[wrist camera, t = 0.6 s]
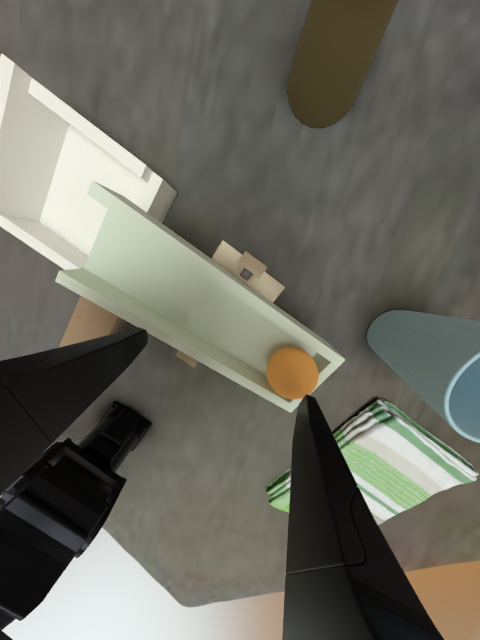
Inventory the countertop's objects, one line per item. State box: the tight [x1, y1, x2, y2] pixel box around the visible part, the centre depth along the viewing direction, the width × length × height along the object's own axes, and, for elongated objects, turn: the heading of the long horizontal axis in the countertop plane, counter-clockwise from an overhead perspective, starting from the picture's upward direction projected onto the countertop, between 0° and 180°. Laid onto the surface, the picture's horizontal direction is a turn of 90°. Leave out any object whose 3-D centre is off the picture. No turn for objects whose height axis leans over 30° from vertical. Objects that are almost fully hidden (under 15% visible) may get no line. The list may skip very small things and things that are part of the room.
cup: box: [367, 310, 480, 443], centre depth 16 cm, size 8×8×10 cm
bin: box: [0, 53, 177, 270], centre depth 17 cm, size 12×12×5 cm
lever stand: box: [175, 241, 285, 368], centre depth 18 cm, size 11×8×7 cm
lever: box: [55, 180, 345, 413], centre depth 16 cm, size 16×20×3 cm
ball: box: [266, 347, 319, 399], centre depth 15 cm, size 4×4×4 cm
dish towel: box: [266, 399, 479, 525], centre depth 25 cm, size 17×23×4 cm
